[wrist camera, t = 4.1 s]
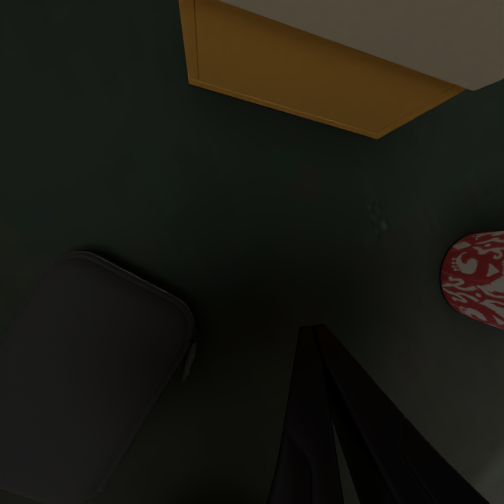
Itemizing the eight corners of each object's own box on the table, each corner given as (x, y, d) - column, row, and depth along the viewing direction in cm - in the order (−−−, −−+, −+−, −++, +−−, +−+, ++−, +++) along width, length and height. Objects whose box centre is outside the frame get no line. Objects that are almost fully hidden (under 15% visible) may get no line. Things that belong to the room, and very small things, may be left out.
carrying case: (114, 493, 19) (219, 312, 19) (96, 542, 16) (222, 327, 16) (-43, 436, 17) (78, 237, 17) (-97, 479, 14) (51, 238, 14)
